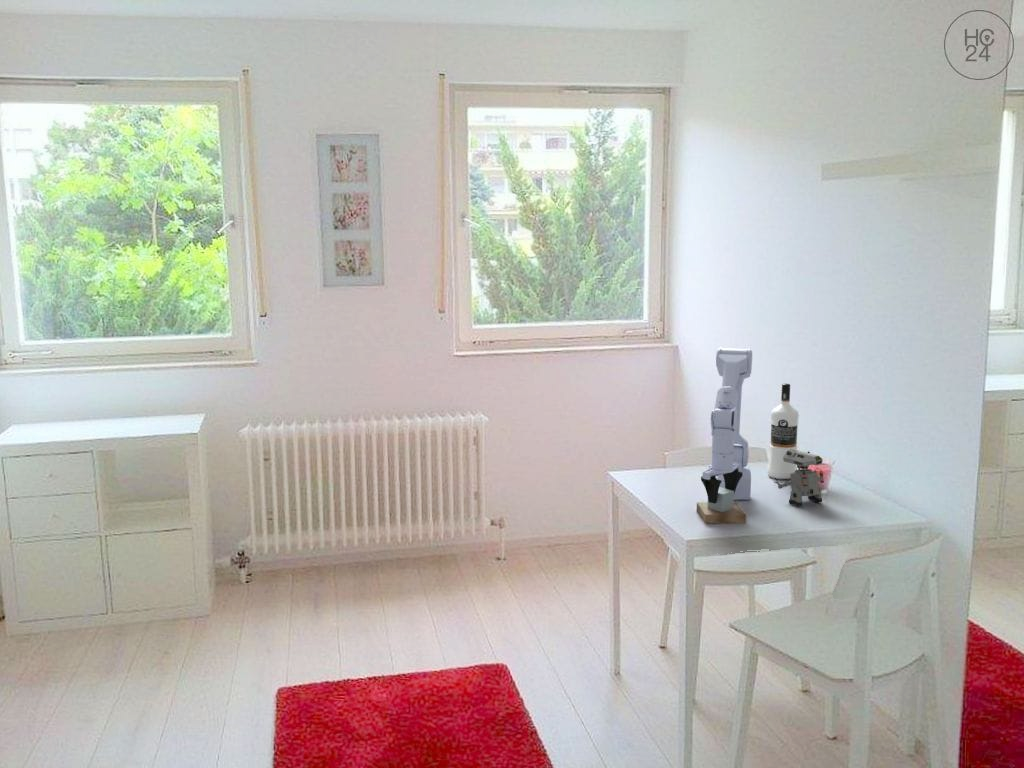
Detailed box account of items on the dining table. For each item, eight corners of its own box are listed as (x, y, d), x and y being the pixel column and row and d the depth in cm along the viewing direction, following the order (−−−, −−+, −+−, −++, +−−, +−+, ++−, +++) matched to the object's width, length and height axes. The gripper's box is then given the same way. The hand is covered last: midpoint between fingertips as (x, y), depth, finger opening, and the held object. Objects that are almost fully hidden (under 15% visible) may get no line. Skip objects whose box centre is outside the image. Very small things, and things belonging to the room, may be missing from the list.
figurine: (796, 494, 275) (798, 445, 272) (826, 504, 265) (828, 453, 262) (773, 499, 270) (775, 449, 268) (803, 509, 260) (805, 458, 258)
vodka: (800, 474, 296) (804, 382, 290) (792, 481, 288) (797, 387, 283) (771, 471, 300) (775, 380, 295) (763, 477, 293) (767, 384, 287)
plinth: (735, 510, 260) (735, 502, 259) (745, 523, 249) (746, 514, 249) (696, 511, 260) (696, 502, 259) (705, 523, 249) (705, 514, 248)
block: (718, 504, 258) (719, 486, 257) (733, 508, 254) (734, 490, 253) (707, 507, 254) (707, 490, 254) (722, 512, 251) (722, 494, 250)
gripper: (726, 444, 259) (725, 491, 261) (694, 453, 250) (692, 501, 252) (748, 449, 253) (746, 497, 256) (715, 458, 244) (713, 507, 247)
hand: (721, 499), depth 254 cm, fingers open, 7 cm apart
